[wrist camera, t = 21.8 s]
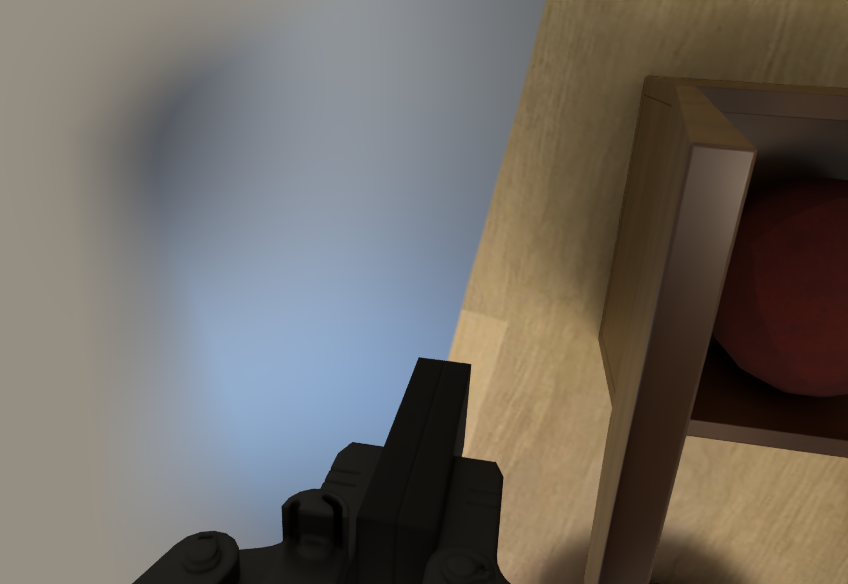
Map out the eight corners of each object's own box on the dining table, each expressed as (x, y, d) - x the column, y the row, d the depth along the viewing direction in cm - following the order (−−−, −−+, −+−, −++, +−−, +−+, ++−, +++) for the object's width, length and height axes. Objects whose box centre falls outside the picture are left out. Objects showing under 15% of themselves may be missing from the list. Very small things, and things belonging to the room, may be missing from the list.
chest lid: (759, 147, 8) (690, 141, 8) (573, 886, 14) (537, 869, 15) (697, 86, 26) (675, 85, 26) (624, 433, 32) (608, 429, 32)
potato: (759, 141, 36) (816, 132, 28) (937, 238, 35) (1048, 258, 27) (646, 305, 39) (668, 339, 31) (807, 399, 38) (872, 459, 30)
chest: (1011, 98, 33) (1205, 118, 24) (903, 377, 40) (1020, 482, 30) (644, 75, 36) (683, 85, 26) (598, 340, 42) (615, 426, 33)
